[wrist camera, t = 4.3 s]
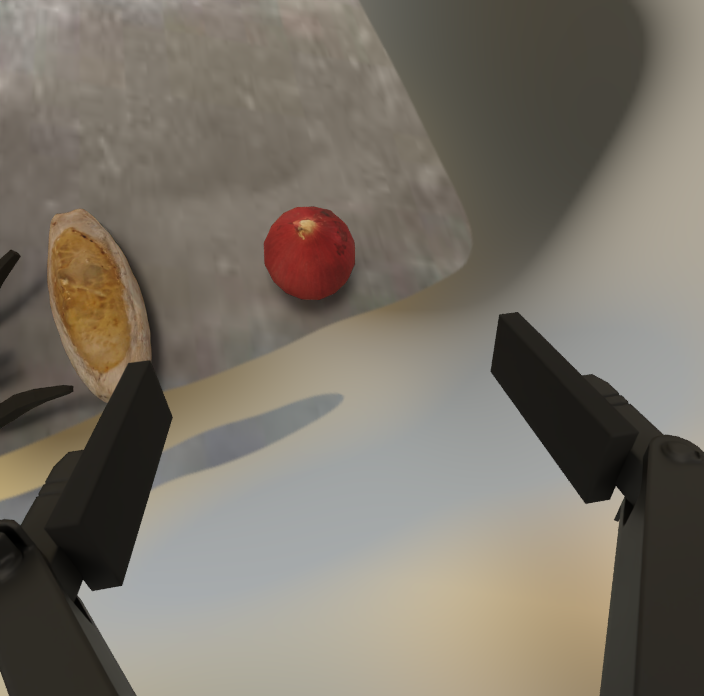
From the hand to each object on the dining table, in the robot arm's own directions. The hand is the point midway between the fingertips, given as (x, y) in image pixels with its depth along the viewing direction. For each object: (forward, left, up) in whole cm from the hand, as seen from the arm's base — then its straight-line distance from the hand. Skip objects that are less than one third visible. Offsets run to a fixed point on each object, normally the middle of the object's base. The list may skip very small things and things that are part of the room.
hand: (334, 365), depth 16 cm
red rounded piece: (-3, +8, -13) cm, 16 cm away
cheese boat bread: (-16, +3, -13) cm, 21 cm away
